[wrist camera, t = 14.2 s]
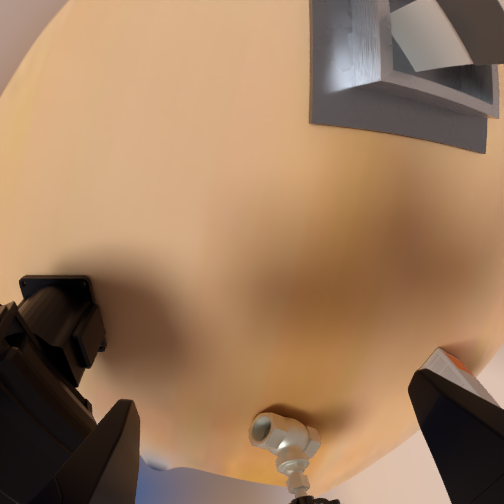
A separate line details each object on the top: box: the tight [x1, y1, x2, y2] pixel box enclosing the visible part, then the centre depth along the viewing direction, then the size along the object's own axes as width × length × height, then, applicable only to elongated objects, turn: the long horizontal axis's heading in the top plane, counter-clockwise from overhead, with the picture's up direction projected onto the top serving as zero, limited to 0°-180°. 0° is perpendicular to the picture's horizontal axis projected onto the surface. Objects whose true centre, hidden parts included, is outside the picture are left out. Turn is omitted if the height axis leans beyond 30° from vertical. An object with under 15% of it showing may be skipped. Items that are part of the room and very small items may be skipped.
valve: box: [249, 413, 340, 504], centre depth 22 cm, size 7×7×12 cm
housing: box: [309, 0, 499, 154], centre depth 14 cm, size 16×16×4 cm
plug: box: [390, 0, 504, 72], centre depth 10 cm, size 5×5×12 cm
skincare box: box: [419, 348, 503, 410], centre depth 23 cm, size 6×4×12 cm
